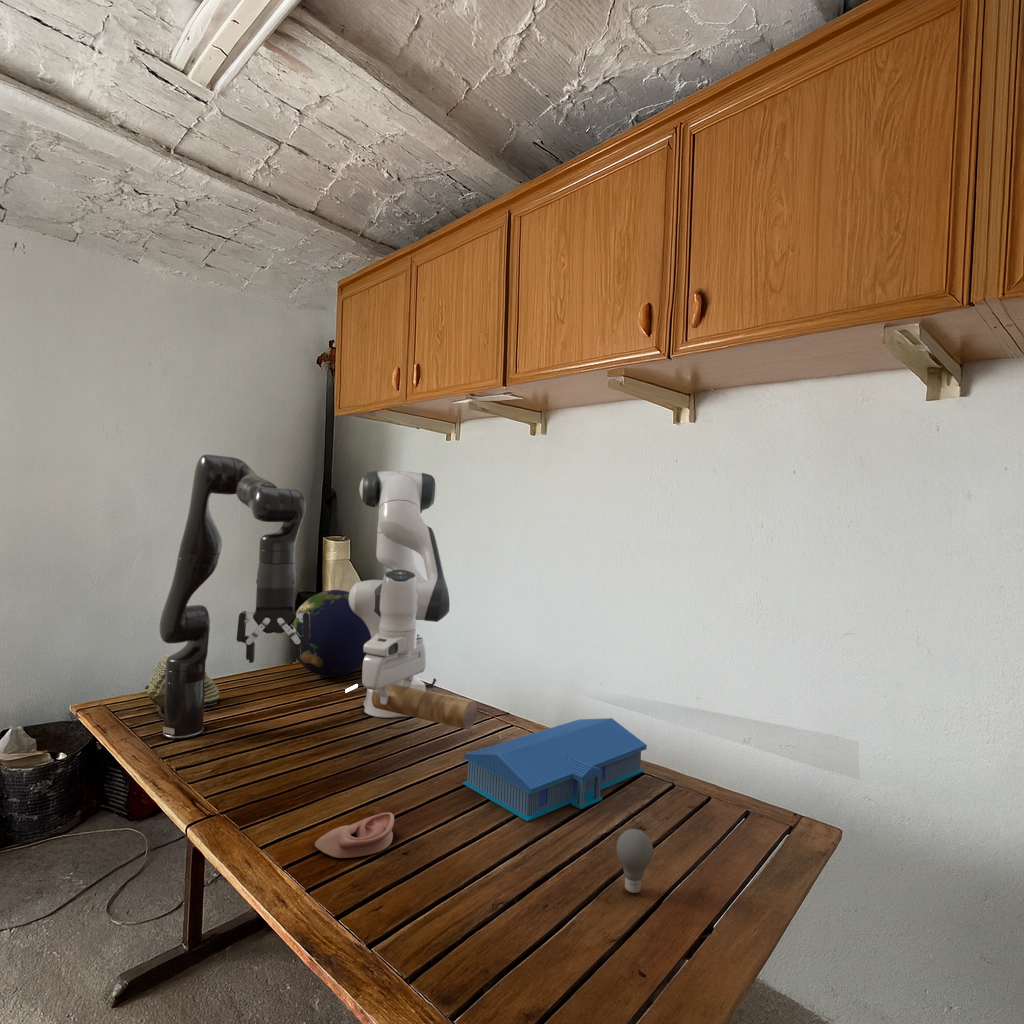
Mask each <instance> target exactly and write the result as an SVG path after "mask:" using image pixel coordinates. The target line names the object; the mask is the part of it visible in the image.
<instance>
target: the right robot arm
mask: <svg viewBox="0 0 1024 1024" xmlns="http://www.w3.org/2000/svg"><path fill="white" fill-rule="evenodd" d="M437 485H438V484H437V483H436V479H435V478H434V476H433V475H431V474H429V473H425V472H421V473H420V472H413V471H407V470H383V471H378V470H371V471H367V472H366V473H364V474H363V477H362V479H361V480H360V483H359V487H358V488H359V490H358V491H359V495H360V498H361V501H362V504H364V505H365V506H367V507H370V508H376V507H377V508H378V521H377V531H376V550H375V551H376V552H375V556H376V559H377V561H378V562H379V564H381V565H382V566H384V567H385V568H387V569H389V571H387V572H385V573H384V574H383V577H382V579H368V580H362V581H357V582H355V584H353V585H352V586H351V588H350V591H349V592H350V593H349V598H348V600H349V605H350V608H351V610H352V611H353V612H354V613H355V614H356V615H357V616H359V617H360V618H361V619H362V620H363V621H364V623H365V624H366V626H367V627H368V629H369V632H370V635H371V639H370V640H369V641H368V642H366V643H365V644H364V647H363V651H364V653H368V654H366V656H365V657H364V660H363V665H362V672H361V681H362V686H363V687H364V689H366V695H365V700H363V704H362V705H363V706H364V709H363V712H364V713H365V714H367V715H369V716H372V717H375V718H386V719H387V718H390V719H391V718H399V717H401V718H402V717H404V718H405V717H408V718H410V717H412V716H407V715H403V714H399V713H395V712H390V711H386V710H382V709H377V708H375V707H374V706H373V704H372V694H373V691H374V690H378V693H379V695H380V703H381V704H384V705H386V704H388V703H390V695H388V693H387V690H388V685H391V684H396V685H400V686H405V687H410V688H415V689H420V690H424V691H427V689H426V688H428V687H433V686H434V685H435V684H436V682H437V679H436V678H433V680H432V683H427V684H425V682H424V681H422V680H421V679H420V678H418V677H417V676H416V675H418V674H421V673H424V672H425V669H426V666H427V657H426V646H425V644H424V638H423V637H422V636H421V634H418V625H417V621H424V622H434V623H437V622H438V623H439V621H441V620H442V619H444V618H445V617H446V616H447V615H448V614H449V613H450V609H451V594H450V591H449V589H448V585H447V581H446V578H445V574H444V569H443V565H442V560H441V556H440V550H439V547H438V542H437V539H436V535H435V533H434V531H433V528H432V527H430V526H429V525H427V524H426V523H425V521H424V520H423V518H422V515H421V514H422V513H423V511H425V510H429V508H431V507H432V506H433V505H434V503H435V501H436V498H437V496H438V486H437ZM415 552H416V553H418V554H419V555H420V556H421V558H422V559H423V563H424V568H425V569H424V570H425V574H426V579H427V580H426V579H425V578H424V576H423V575H422V574H421V572H420V570H419V568H418V566H417V563H416V556H415ZM358 685H359V684H358V683H356V684H354V685H352V686H350V687H348V688H346V689H345V693H348V692H350V691H352V690H354V689H357V688H358V687H359V686H358ZM412 718H413V717H412Z"/></svg>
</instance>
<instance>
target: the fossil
mask: <svg viewBox="0 0 1024 1024" xmlns="http://www.w3.org/2000/svg"><path fill="white" fill-rule="evenodd" d="M171 655H172V654H165V655H164V656H163V657H162V658H161V659H160V660H159V662H158V663H157V666H156V667H155V669H154V670H153V672H152V675H151V677H150V680H149V684H148V685H149V688H148V689H147V697H148V699H149V700H150V701H152V703H153V704H154V706H155V711H159V710H160V709H161V708H164V705H165V674H166V660H167V658H168V657H169V656H171ZM220 698H221V696H220V690H219V688H218V686H217V685H216V683H215V682H214V681H213V679H212V678H211V677H209V675H208V674H207V672H206V671H205V693H204V707H207V706H213V705H215V704H217V703H218V701H219V699H220Z"/></svg>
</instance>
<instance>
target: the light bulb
mask: <svg viewBox="0 0 1024 1024" xmlns="http://www.w3.org/2000/svg"><path fill="white" fill-rule="evenodd" d="M615 849H616V854H617V857H618V859H619V861H620V863H621V865H622V867H623V873H624V874H623V875H624V876H625V878H624V888H625V890H627V891H628V892H630V893H634V894H635V893H639V892H640V891H641V889H642V887H641V886H642V879H643V877H644V875H645V871H646V868H647V867H648V866H649V864H650V863H651V861H652V859H653V855H654V847H653V843H652V841H651V838H649V836H648V835H647V834H646V833H645V832H643V831H642V830H641V829H636V828H629V829H627V830H625V831H623V832H622V833H621V834H620V835H619V837H618V839H617V841H616V847H615Z"/></svg>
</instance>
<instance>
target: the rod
mask: <svg viewBox="0 0 1024 1024" xmlns="http://www.w3.org/2000/svg"><path fill="white" fill-rule="evenodd" d="M387 693H388V695H390V703H388V704H386V705H384V704H381V703H380V695H379V693H378V690H374V691H373V694H372V704H373V706H374V707H375V708H377V709H382V710H386V711H390V712H395V713H399V714H403V715H407V716H412V718H417V719H421V720H425V721H429V722H434V723H438V724H442V725H447V726H451V727H455V728H460V729H463V730H470V729H471V728H472V727H473V726H474V725H475V722H476V720H477V715H478V706H477V703H476V701H475V700H472V699H467V698H462V697H458V696H453V695H447V694H444V693H438V692H435V691H434V692H433V691H428V690H426V691H424V690H420V689H415V688H410V687H405V686H400V685H396V684H391V685H388V690H387Z"/></svg>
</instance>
